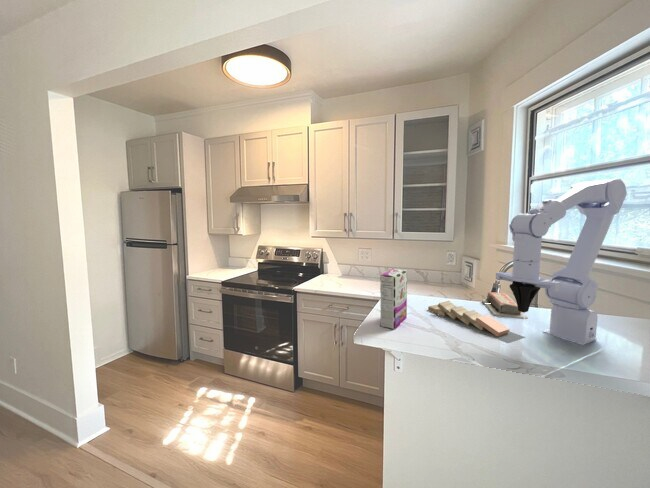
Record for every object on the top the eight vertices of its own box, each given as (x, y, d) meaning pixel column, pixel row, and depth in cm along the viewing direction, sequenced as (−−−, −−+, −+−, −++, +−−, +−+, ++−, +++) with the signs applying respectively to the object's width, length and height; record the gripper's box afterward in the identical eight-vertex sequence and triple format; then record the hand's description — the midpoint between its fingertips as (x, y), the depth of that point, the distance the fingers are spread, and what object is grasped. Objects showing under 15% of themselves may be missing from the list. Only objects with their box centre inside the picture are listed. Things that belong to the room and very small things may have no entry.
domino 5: (509, 329, 82) (487, 314, 88) (498, 332, 80) (476, 317, 85) (507, 333, 83) (486, 318, 88) (497, 336, 80) (475, 321, 86)
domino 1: (454, 309, 98) (438, 304, 105) (444, 311, 96) (428, 306, 102) (454, 313, 98) (438, 308, 105) (444, 315, 96) (428, 310, 103)
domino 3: (480, 318, 90) (461, 306, 96) (469, 321, 88) (451, 308, 94) (478, 322, 91) (460, 309, 96) (468, 325, 88) (450, 312, 94)
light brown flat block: (494, 323, 86) (474, 310, 92) (483, 326, 84) (463, 312, 90) (492, 327, 87) (472, 313, 92) (481, 330, 84) (462, 316, 90)
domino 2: (465, 313, 95) (448, 300, 100) (455, 316, 92) (438, 303, 98) (464, 316, 95) (447, 303, 101) (454, 319, 93) (437, 306, 98)
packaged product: (481, 290, 113) (510, 292, 110) (481, 302, 114) (510, 304, 111) (494, 304, 96) (529, 307, 93) (493, 318, 96) (528, 321, 94)
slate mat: (525, 338, 80) (525, 337, 80) (507, 344, 76) (507, 343, 76) (452, 312, 101) (452, 311, 101) (435, 316, 98) (435, 314, 98)
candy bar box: (392, 315, 98) (393, 268, 96) (406, 318, 95) (408, 269, 94) (379, 326, 89) (379, 274, 87) (394, 330, 86) (395, 276, 84)
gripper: (489, 257, 79) (487, 305, 81) (549, 266, 67) (545, 323, 68) (505, 255, 83) (502, 302, 84) (566, 263, 70) (561, 317, 71)
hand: (523, 311), depth 76 cm, fingers closed
